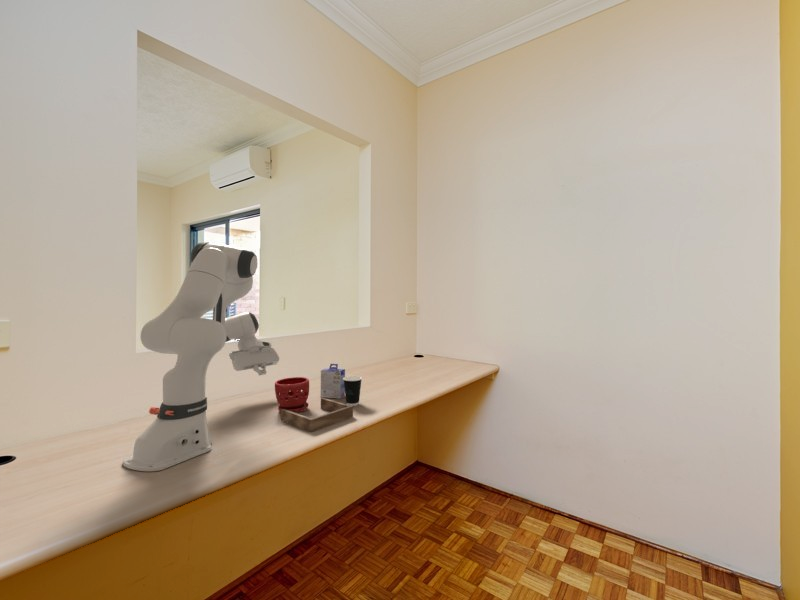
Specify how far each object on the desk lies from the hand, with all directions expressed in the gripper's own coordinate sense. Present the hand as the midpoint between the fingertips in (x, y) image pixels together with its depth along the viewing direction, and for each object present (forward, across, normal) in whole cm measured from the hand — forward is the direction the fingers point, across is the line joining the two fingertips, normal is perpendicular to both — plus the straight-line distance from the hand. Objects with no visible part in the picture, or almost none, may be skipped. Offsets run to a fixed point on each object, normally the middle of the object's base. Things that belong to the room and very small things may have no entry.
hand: (263, 374), depth 158 cm
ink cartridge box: (+22, +23, -5) cm, 32 cm away
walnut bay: (+33, 0, -17) cm, 37 cm away
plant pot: (+23, 0, -6) cm, 24 cm away
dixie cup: (+32, +21, -16) cm, 41 cm away
